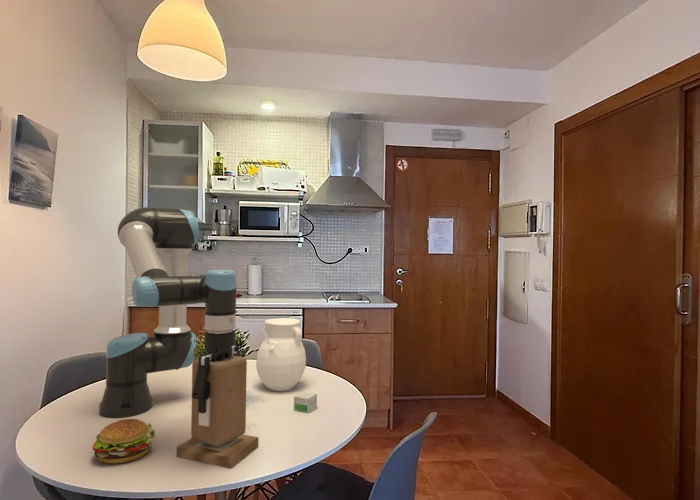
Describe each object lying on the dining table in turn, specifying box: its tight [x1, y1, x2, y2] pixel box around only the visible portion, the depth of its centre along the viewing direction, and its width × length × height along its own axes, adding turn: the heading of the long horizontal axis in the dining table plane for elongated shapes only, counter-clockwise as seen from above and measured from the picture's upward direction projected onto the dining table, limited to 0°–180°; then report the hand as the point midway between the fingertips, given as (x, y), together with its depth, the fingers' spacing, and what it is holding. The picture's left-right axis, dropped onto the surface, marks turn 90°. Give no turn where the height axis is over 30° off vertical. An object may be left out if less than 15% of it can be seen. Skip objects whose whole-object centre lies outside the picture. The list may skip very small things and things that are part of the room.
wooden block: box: [190, 355, 248, 446], centre depth 111 cm, size 10×10×20 cm
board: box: [175, 434, 259, 469], centre depth 111 cm, size 16×12×3 cm
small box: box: [293, 390, 318, 414], centre depth 142 cm, size 6×6×5 cm
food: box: [92, 418, 156, 465], centre depth 110 cm, size 14×14×8 cm
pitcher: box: [255, 317, 307, 392], centre depth 164 cm, size 19×18×25 cm
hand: (218, 416), depth 111 cm, fingers closed on wooden block, 11 cm apart
